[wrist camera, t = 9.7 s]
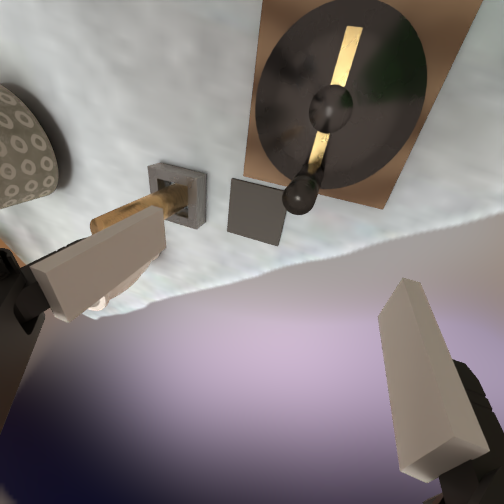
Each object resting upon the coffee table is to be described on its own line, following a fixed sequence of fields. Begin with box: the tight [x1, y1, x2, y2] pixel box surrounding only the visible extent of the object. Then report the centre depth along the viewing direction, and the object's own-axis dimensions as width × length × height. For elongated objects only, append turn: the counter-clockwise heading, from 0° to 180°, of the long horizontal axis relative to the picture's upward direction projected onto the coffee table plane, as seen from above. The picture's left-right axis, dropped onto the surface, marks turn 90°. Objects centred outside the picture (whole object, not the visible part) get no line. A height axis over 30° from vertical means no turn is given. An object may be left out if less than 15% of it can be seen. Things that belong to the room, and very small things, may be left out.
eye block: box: [148, 163, 207, 229], centre depth 38 cm, size 8×8×3 cm
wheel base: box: [243, 0, 483, 209], centre depth 27 cm, size 19×19×1 cm
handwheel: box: [255, 0, 427, 215], centre depth 22 cm, size 17×17×11 cm
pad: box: [227, 178, 286, 246], centre depth 37 cm, size 9×9×1 cm
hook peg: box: [90, 183, 188, 235], centre depth 34 cm, size 6×4×16 cm, turn 172°
